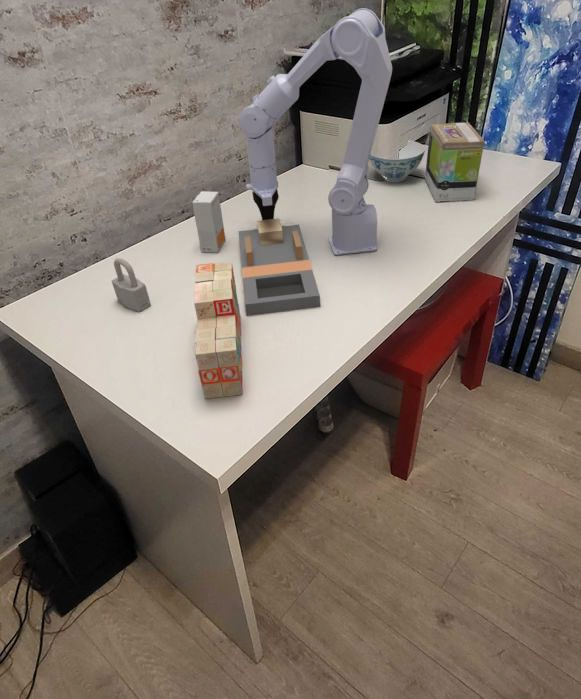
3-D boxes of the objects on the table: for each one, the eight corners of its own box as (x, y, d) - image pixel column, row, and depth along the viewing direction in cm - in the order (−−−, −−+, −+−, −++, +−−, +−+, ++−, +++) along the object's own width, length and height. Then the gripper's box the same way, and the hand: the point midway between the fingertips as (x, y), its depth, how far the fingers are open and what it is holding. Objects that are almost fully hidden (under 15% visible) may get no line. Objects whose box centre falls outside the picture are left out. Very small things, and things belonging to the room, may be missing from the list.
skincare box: (218, 253, 118) (210, 202, 111) (201, 252, 119) (191, 202, 112) (226, 240, 123) (218, 191, 115) (209, 239, 124) (200, 190, 116)
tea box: (475, 201, 130) (485, 139, 121) (434, 203, 131) (441, 142, 122) (461, 177, 142) (469, 120, 133) (423, 179, 143) (429, 122, 133)
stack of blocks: (244, 395, 83) (233, 333, 75) (204, 400, 82) (189, 338, 75) (240, 316, 99) (231, 259, 91) (207, 320, 99) (195, 263, 91)
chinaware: (410, 191, 137) (412, 162, 132) (357, 183, 144) (358, 154, 139) (430, 171, 147) (433, 143, 142) (380, 164, 153) (381, 136, 148)
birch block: (280, 230, 120) (279, 218, 118) (283, 242, 115) (282, 230, 113) (258, 233, 119) (257, 220, 117) (260, 245, 115) (259, 233, 113)
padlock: (115, 302, 106) (100, 258, 99) (131, 293, 108) (118, 249, 102) (137, 314, 102) (123, 269, 96) (153, 304, 104) (141, 259, 98)
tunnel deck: (299, 234, 123) (298, 212, 119) (320, 306, 100) (319, 281, 96) (239, 241, 122) (236, 219, 119) (246, 315, 99) (243, 290, 96)
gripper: (242, 154, 118) (249, 211, 126) (245, 178, 106) (252, 239, 115) (273, 150, 118) (278, 207, 127) (279, 174, 107) (284, 235, 115)
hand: (268, 222), depth 121 cm, fingers closed
